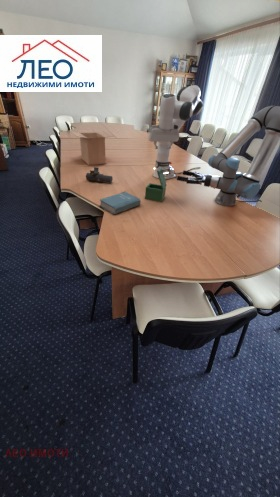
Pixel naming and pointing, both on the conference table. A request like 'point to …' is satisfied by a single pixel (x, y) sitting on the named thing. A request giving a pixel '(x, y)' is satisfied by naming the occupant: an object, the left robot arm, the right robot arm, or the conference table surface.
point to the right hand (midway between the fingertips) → (180, 175)
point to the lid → (161, 176)
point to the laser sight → (98, 176)
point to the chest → (155, 192)
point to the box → (92, 146)
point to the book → (119, 202)
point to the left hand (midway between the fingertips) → (162, 148)
